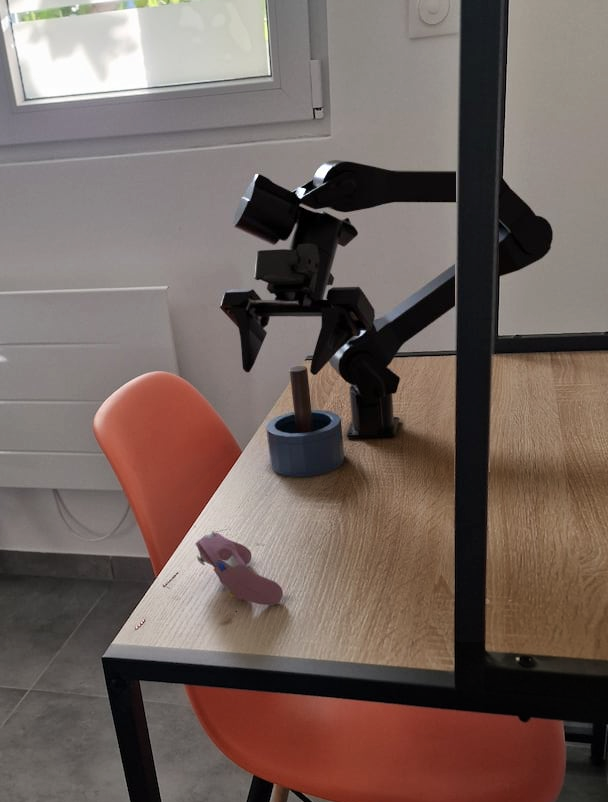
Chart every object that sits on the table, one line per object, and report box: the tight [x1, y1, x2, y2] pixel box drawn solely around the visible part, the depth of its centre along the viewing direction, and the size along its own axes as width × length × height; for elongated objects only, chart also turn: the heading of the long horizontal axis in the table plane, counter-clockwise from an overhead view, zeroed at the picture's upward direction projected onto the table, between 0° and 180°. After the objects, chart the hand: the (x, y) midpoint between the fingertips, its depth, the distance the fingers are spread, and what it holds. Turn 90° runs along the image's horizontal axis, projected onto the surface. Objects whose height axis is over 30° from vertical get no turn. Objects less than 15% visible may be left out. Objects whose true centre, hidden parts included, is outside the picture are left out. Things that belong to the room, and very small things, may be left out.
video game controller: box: [195, 530, 284, 606], centre depth 79 cm, size 10×5×7 cm, turn 21°
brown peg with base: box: [288, 365, 314, 433], centre depth 104 cm, size 4×4×12 cm
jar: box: [265, 409, 345, 478], centre depth 106 cm, size 9×9×6 cm
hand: (278, 372), depth 98 cm, fingers open, 9 cm apart
